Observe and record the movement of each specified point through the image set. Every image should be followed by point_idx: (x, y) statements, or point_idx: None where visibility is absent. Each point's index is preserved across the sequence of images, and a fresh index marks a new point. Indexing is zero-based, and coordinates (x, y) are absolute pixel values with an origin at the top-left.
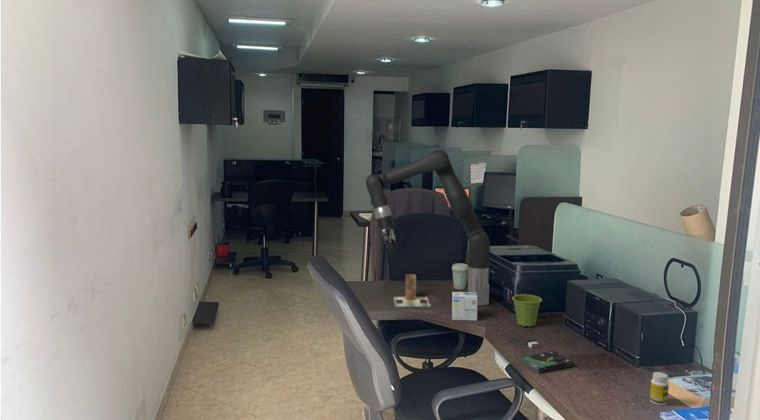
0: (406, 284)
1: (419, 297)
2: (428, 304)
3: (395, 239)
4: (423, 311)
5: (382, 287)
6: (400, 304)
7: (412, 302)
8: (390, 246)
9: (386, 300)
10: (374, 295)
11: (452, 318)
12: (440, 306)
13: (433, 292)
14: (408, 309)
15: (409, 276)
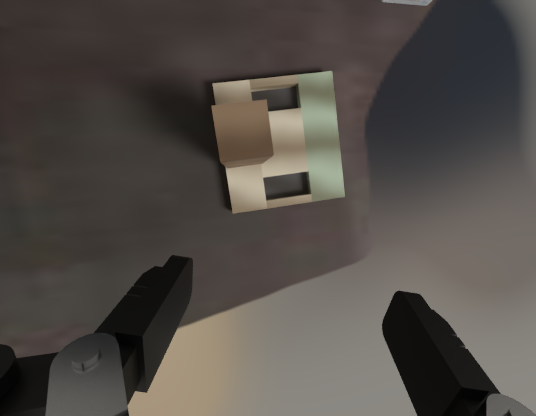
0: (268, 158)
1: None
2: (311, 79)
3: (14, 357)
4: (349, 101)
5: (65, 270)
6: (322, 179)
7: (294, 138)
8: (446, 344)
9: (241, 234)
10: None
11: (429, 2)
12: (288, 38)
13: (99, 59)
14: None
15: (269, 138)
